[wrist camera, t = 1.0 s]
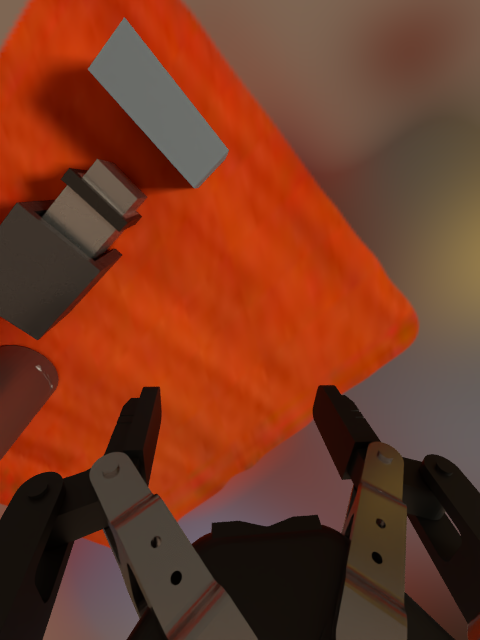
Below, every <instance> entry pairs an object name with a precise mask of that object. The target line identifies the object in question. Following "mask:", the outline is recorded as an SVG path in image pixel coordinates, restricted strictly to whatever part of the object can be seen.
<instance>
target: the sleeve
mask: <svg viewBox="0 0 480 640" xmlns="http://www.w3.org/2000/svg"><path fill="white" fill-rule="evenodd" d="M54 201H55V200H44V201H32V202H19V203H16V205H15V206H14V207H13V209H12V210H11V211H10V213H9V214H8V215H7V217H6V218H5V220H4V221H3V222H2V224H1V225H0V316H1V317H2V318H4V319H5V320H7V321H9V322H10V323H12V324H13V325H15V326H16V327H18V328H19V329H21V330H23V331H24V332H26V333H27V334H29V335H30V336H32V337H33V338H35V339H37V340H39V339H40V338H41V337H42V336H43V335H44V334H46V333H47V332H48V331H49V330H50V329H51V328H52V327H54V326H55V325H56V324H57V323H58V322H59V321H60V320H62V319H63V318H64V317H65V316H66V315H67V314H68V313H69V312H70V311H71V310H72V309H73V308H74V307H75V306H76V305H77V304H78V303H79V302H80V301H81V299H82V298H83V297H84V296H85V295H86V294H87V293H88V292H89V291H90V290H91V289H92V287H93V286H94V285H95V284H96V283H97V282H98V281H99V280H100V279H101V278H102V277H103V276H104V274H105V273H106V272H107V271H108V270H109V269H110V268H111V267H112V266H113V265H114V264H115V262H116V261H117V260H118V259H119V258H120V257H121V256H122V254H121V253H120V252H118V251H117V250H116V249H114V250H112V251H111V252H109V253H107V254H106V255H104V256H103V257H101V258H99V259H98V260H96V261H94V260H92V259H91V258H90V257H89V256H88V255H86V254H85V253H84V252H83V251H82V250H80V249H79V248H78V247H77V246H76V245H74V244H73V243H72V242H71V241H69V240H68V239H67V238H66V237H65V236H63V235H62V234H61V233H60V232H59V231H57V230H56V229H55V228H54V227H52V226H51V225H50V224H49V223H48V222H46V221H45V220H44V219H43V218H42V217H43V215H44V214H45V213H46V212H47V210H48V209H49V208H50V206H51V205H52V204H53V203H54Z"/></svg>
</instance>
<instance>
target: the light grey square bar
mask: <svg viewBox="0 0 480 640" xmlns="http://www.w3.org/2000/svg"><path fill="white" fill-rule="evenodd" d="M61 180H62V181H63V182H65V183H66V184H67V186H66V187H65V189H64V190H63V191H62V192H61V194H60V195H59V196H58V198H57V199H56V200H55V201H54V203H53V204H52V205H51V206H50V208H49V209H48V210H47V212H46V213H45V214H44V215H43V217H42V218H43V219H44V220H45V221H46V222H48V223H49V224H50V225H51V226H52V227H54V228H55V229H56V230H57V231H59V232H60V233H61V234H62V235H63V236H65V237H66V238H67V239H68V240H69V241H71V242H72V243H73V244H74V245H76V246H77V247H78V248H79V249H80V250H82V251H83V252H84V253H85V254H86V255H88V256H89V257H90V258H91V259H92V260H94V261H96V260H98V259H99V258H100V257H101V256H102V255H103V254H104V252H105V251H106V250H107V249H108V248H109V247H110V246H111V245H112V244H113V242H114V241H115V240H116V239H117V238H118V237H119V236H120V235H121V233H122V232H123V231H124V230H125V229H127V228H129V227H131V226H133V225H135V224H136V223H137V222H138V221H139V220H140V218H141V217H142V216H141V215H140V214H139V213H138V212H137V211H136V210H137V208H138V207H139V206H140V205H141V204H142V203H143V202H144V201H145V199H146V198H147V196H146V195H145V194H144V193H143V192H142V191H141V190H140V189H139V188H138V187H137V186H136V185H135V184H134V183H133V182H132V181H131V180H130V179H129V178H128V177H127V176H126V175H125V174H124V173H123V172H122V171H121V170H120V169H119V168H118V167H117V166H116V165H115V164H114V163H112V162H108V161H104V160H100V159H97V160H96V161H95V162H94V164H93V165H92V166H91V167H90V169H89V170H88V171H87V170H80V169H72V168H69V169H68V171H67V172H66V173H65V174H64V176H63V177H62V178H61Z"/></svg>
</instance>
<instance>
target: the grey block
mask: <svg viewBox="0 0 480 640" xmlns="http://www.w3.org/2000/svg"><path fill="white" fill-rule="evenodd" d="M88 70H89V71H90V72H91V73H92V75H93V76H94V77H95V78H96V79H97V80H98V81H99V82H100V84H101V85H102V86H103V87H104V88H105V89H106V90H107V91H108V93H109V94H110V95H111V96H112V97H113V98H114V99H115V100H116V101H117V103H118V104H119V105H120V106H121V107H122V108H123V109H124V110H125V112H126V113H127V114H128V115H129V116H130V117H131V118H132V119H133V121H134V122H135V123H136V124H137V125H138V126H139V127H140V128H141V129H142V131H143V132H144V133H145V134H146V135H147V136H148V137H149V138H150V140H151V141H152V142H153V143H154V144H155V145H156V146H157V147H158V149H159V150H160V151H161V152H162V153H163V154H164V155H165V156H166V157H167V159H168V160H169V161H170V162H171V163H172V164H173V165H174V166H175V168H176V169H177V170H178V171H179V172H180V173H181V174H182V175H183V176H184V178H185V179H186V180H187V181H188V182H189V183H190V184H191V185H192V187H193V188H199V187H200V186H201V184H202V183H203V182H204V181H205V180H206V179H207V178H208V177H209V176H210V175H211V174H212V173H213V172H214V171H215V169H216V168H217V167H218V166H219V165H220V164H221V163H222V162H223V161H224V160H225V158H226V156H227V154H228V152H229V150H228V149H227V147H226V146H225V145H224V144H223V142H222V141H221V140H220V139H219V137H218V136H217V135H216V133H215V132H214V131H213V130H212V128H211V127H210V126H209V124H208V123H207V122H206V121H205V119H204V118H203V117H202V116H201V114H200V113H199V112H198V110H197V109H196V108H195V107H194V105H193V104H192V103H191V102H190V100H189V99H188V98H187V96H186V95H185V94H184V93H183V91H182V90H181V89H180V87H179V86H178V85H177V84H176V82H175V81H174V80H173V79H172V77H171V76H170V75H169V73H168V72H167V71H166V70H165V68H164V67H163V66H162V65H161V63H160V62H159V61H158V59H157V58H156V57H155V56H154V54H153V53H152V52H151V50H150V49H149V48H148V47H147V45H146V44H145V43H144V42H143V40H142V39H141V38H140V36H139V35H138V34H137V33H136V31H135V30H134V29H133V28H132V26H131V25H130V24H129V22H128V21H127V20H126V19H125V17H124V19H123V20H122V22H121V23H120V24H119V26H118V27H117V29H116V30H115V31H114V33H113V34H112V36H111V37H110V39H109V40H108V41H107V43H106V44H105V46H104V47H103V48H102V50H101V51H100V53H99V54H98V55H97V57H96V58H95V60H94V61H93V62H92V64H91V65H90V67H89V68H88Z"/></svg>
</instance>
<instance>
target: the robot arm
mask: <svg viewBox="0 0 480 640" xmlns="http://www.w3.org/2000/svg"><path fill="white" fill-rule="evenodd" d="M58 380H59V379H58V374H57V371H56V369H55V367H54V366H53V364H52V363H51V362H50V361H49V360H48V359H47V358H46V357H44V356H43V355H41V354H40V353H38V352H36V351H34V350H32V349H29V348H26V347H22V346H16V345H7V346H1V347H0V460H1V459H2V458H3V456H4V455H5V454H6V453H7V451H8V450H9V449H10V447H11V446H12V445H13V444H14V442H15V441H16V440H17V438H18V437H19V436H20V435H21V433H22V432H23V431H24V429H25V428H26V427H27V426H28V424H29V423H30V422H31V420H32V419H33V418H34V417H35V415H36V414H37V413H38V412H39V410H40V409H41V408H42V406H43V405H44V404H45V403H46V401H47V400H48V399H49V397H50V396H51V395H52V394H53V392H54V391H55V390H56V388H57V386H58ZM313 418H314V421H315V423H316V425H317V427H318V430H319V432H320V434H321V436H322V438H323V440H324V442H325V445H326V446H327V449H328V451H329V453H330V455H331V457H332V460H333V462H334V464H335V466H336V468H337V470H338V472H339V474H340V477H341V479H342V480H343V479H344V480H345V479H351V480H352V481H353V487H352V491H351V495H350V500H349V504H348V508H347V512H346V517H345V522H344V525H343V529H342V532H341V533H340V532H338V531H336V530H334V529H332V528H330V527H327V526H325V525H321V523H320V520H319V518H318V515H310V516H297V517H291V518H288V519H286V520H284V521H281V522H279V523H276V524H274V525H271V526H267V527H266V526H261V525H256V524H251V523H247V522H242V521H230V522H217V523H212V531H211V533H209V534H206V535H204V536H203V537H201V538H199V539H198V540H196V541H195V542H194V543H193V544H191V543H190V541H189V540H188V538H187V537H186V535H185V534H184V532H183V531H182V529H181V528H180V526H179V525H178V523H177V522H176V520H175V518H174V517H173V515H172V514H171V512H170V511H169V509H168V508H167V506H166V505H165V503H164V502H163V500H162V499H161V497H160V496H159V495H158V494H155V495H153V494H152V492H151V491H150V489H149V488H148V485H149V480H150V475H151V470H152V465H153V460H154V455H155V449H156V444H157V439H158V434H159V429H160V424H161V396H160V387H143V389H142V392H141V395H140V398H131V399H130V400H129V401H128V402H127V403H126V404H125V405H124V406H123V408H122V411H121V413H120V417H119V418H118V421H117V425H116V426H115V429H114V431H113V434H112V436H111V439H110V442H109V444H108V447H107V449H106V452H105V454H104V456H102V457H101V458H99V459H98V460H97V461H96V462H95V463H94V464H93V466H92V468H90V469H88V470H86V471H84V472H82V473H79V474H76V475H72V476H69V477H66V478H63V479H62V477H61V475H60V474H58V473H56V472H44V473H41V474H38V475H36V476H34V477H32V478H30V479H29V480H27V481H26V482H25V483H23V484H22V485H21V486H20V487H19V489H18V490H17V491H16V493H15V494H14V496H13V498H12V500H11V501H10V503H9V505H8V507H7V508H6V510H5V512H4V514H3V515H2V517H1V519H0V640H43V636H44V633H45V630H46V627H47V624H48V621H49V618H50V615H51V612H52V608H53V605H54V603H55V599H56V596H57V593H58V590H59V587H60V584H61V581H62V577H63V575H64V571H65V568H66V565H67V562H68V559H69V556H70V553H71V550H72V547H73V544H74V541H75V540H77V539H79V538H82V537H84V536H86V535H89V534H91V533H94V532H96V531H99V530H101V529H103V531H104V533H105V536H106V538H107V540H108V542H109V545H110V547H111V549H112V552H113V554H114V556H115V559H116V561H117V563H118V565H119V568H120V570H121V573H122V576H123V579H124V581H125V584H126V587H127V590H128V593H129V595H130V598H131V600H132V602H133V604H134V607H135V609H136V612H137V614H138V616H139V619H140V620H139V621H138V623H137V624H136V626H135V627H134V629H133V631H132V632H131V634H130V635H129V637H128V639H127V640H455V639H454V638H453V637H452V636H451V635H449V634H448V633H447V632H446V631H445V630H444V629H443V628H442V627H441V626H440V625H439V624H438V623H437V622H436V621H435V620H434V619H433V618H432V617H431V616H429V615H428V614H427V613H426V612H425V611H424V610H423V609H422V608H421V607H420V606H419V605H418V604H417V603H416V602H415V601H413V599H412V598H411V597H409V596H408V595H407V594H406V593H405V592H404V590H405V558H406V557H405V556H406V525H407V516H408V518H409V519H410V521H411V523H412V525H413V527H414V529H415V530H416V532H417V534H418V535H419V538H420V539H421V541H422V543H423V545H424V546H425V548H426V550H427V552H428V553H429V555H430V557H431V559H432V561H433V562H434V564H435V566H436V568H437V570H438V571H439V573H440V575H441V576H442V579H443V580H444V582H445V584H446V586H447V587H448V589H449V591H450V593H451V595H452V596H453V598H454V600H455V602H456V603H457V605H458V607H459V609H460V611H461V612H462V614H463V616H464V618H465V619H466V621H467V623H468V628H467V635H468V640H480V493H479V492H478V491H477V489H476V488H475V487H474V486H473V485H472V483H471V482H470V481H469V480H468V479H467V477H466V476H465V475H464V474H463V473H462V472H461V470H460V469H459V468H458V467H457V466H456V465H455V464H453V463H452V462H450V461H449V460H448V459H446V458H444V457H441V456H439V455H434V454H431V455H427V456H425V458H424V460H423V461H422V462H420V461H416V460H412V459H408V458H404V457H402V456H401V455H400V453H399V452H398V451H397V450H396V449H395V448H393V447H392V446H390V445H388V444H386V443H382V442H381V441H380V440H379V438H378V437H377V435H376V434H375V432H374V431H373V430H372V428H371V427H370V425H369V424H368V422H367V421H366V419H365V418H364V417H363V415H362V414H361V412H359V409H358V408H357V406H356V405H355V404H354V402H353V401H352V400H350V399H349V398H348V397H347V396H345V395H341V394H340V392H339V391H338V389H337V388H336V386H334V385H320V386H319V387H318V389H317V393H316V397H315V401H314V406H313ZM445 512H447V514H448V515H449V517H450V518H451V519H452V521H453V522H454V524H455V525H456V527H457V528H458V530H459V532H460V534H461V536H460V535H459V533H458V532H457V530H456V529H455V527H454V526H453V524H452V523H451V521H450V520H449V519H448V517H447V515H446V514H445Z"/></svg>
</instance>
